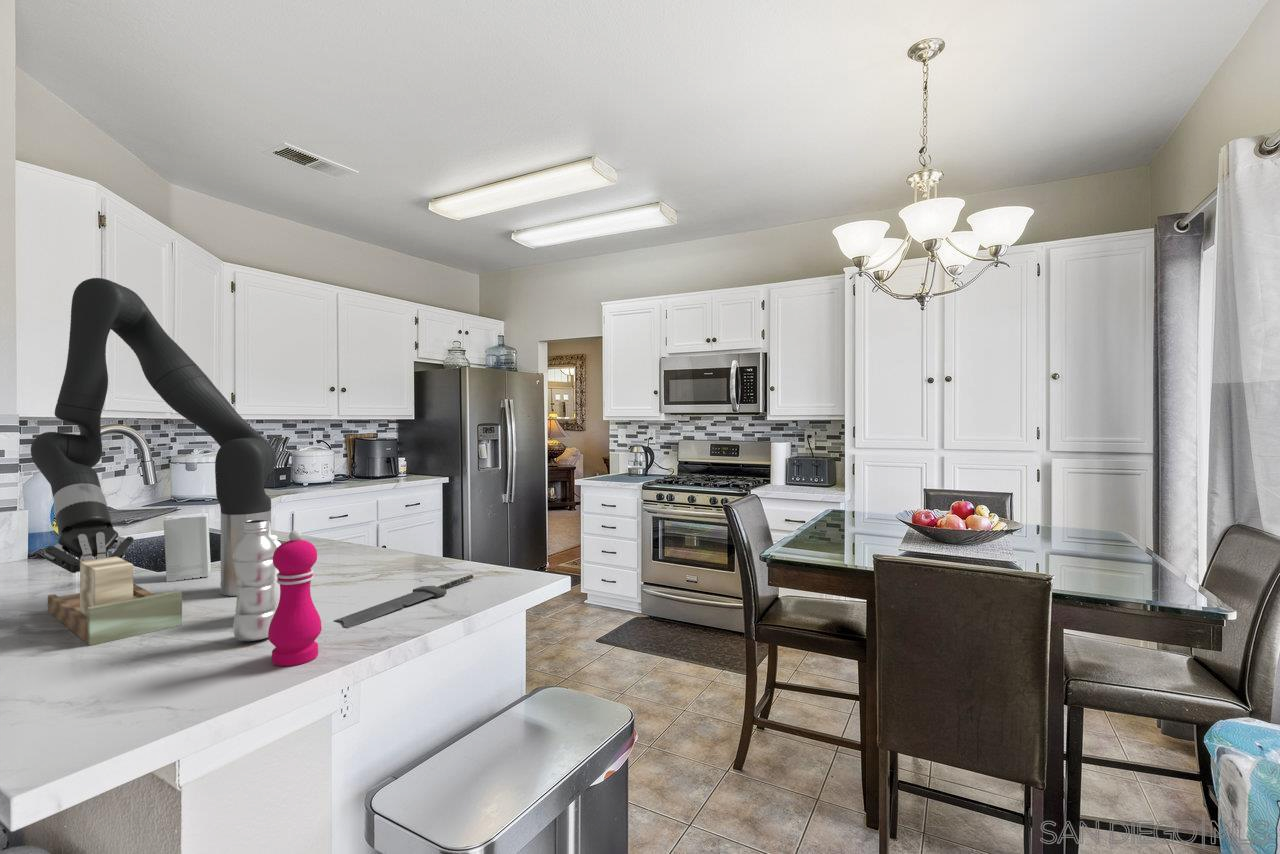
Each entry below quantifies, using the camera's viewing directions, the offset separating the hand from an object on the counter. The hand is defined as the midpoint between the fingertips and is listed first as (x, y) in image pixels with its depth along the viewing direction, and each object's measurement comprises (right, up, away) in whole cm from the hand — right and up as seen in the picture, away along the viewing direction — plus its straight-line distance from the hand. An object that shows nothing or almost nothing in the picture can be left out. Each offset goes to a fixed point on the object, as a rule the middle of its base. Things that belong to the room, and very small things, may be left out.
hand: (99, 585), depth 109 cm
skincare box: (-8, -7, +32) cm, 34 cm away
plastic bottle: (+33, -7, -7) cm, 35 cm away
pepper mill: (+45, -7, -16) cm, 48 cm away
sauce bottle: (+28, -7, +4) cm, 30 cm away
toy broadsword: (+51, -8, +15) cm, 54 cm away
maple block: (+4, -4, -3) cm, 7 cm away
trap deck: (0, -7, +3) cm, 8 cm away
